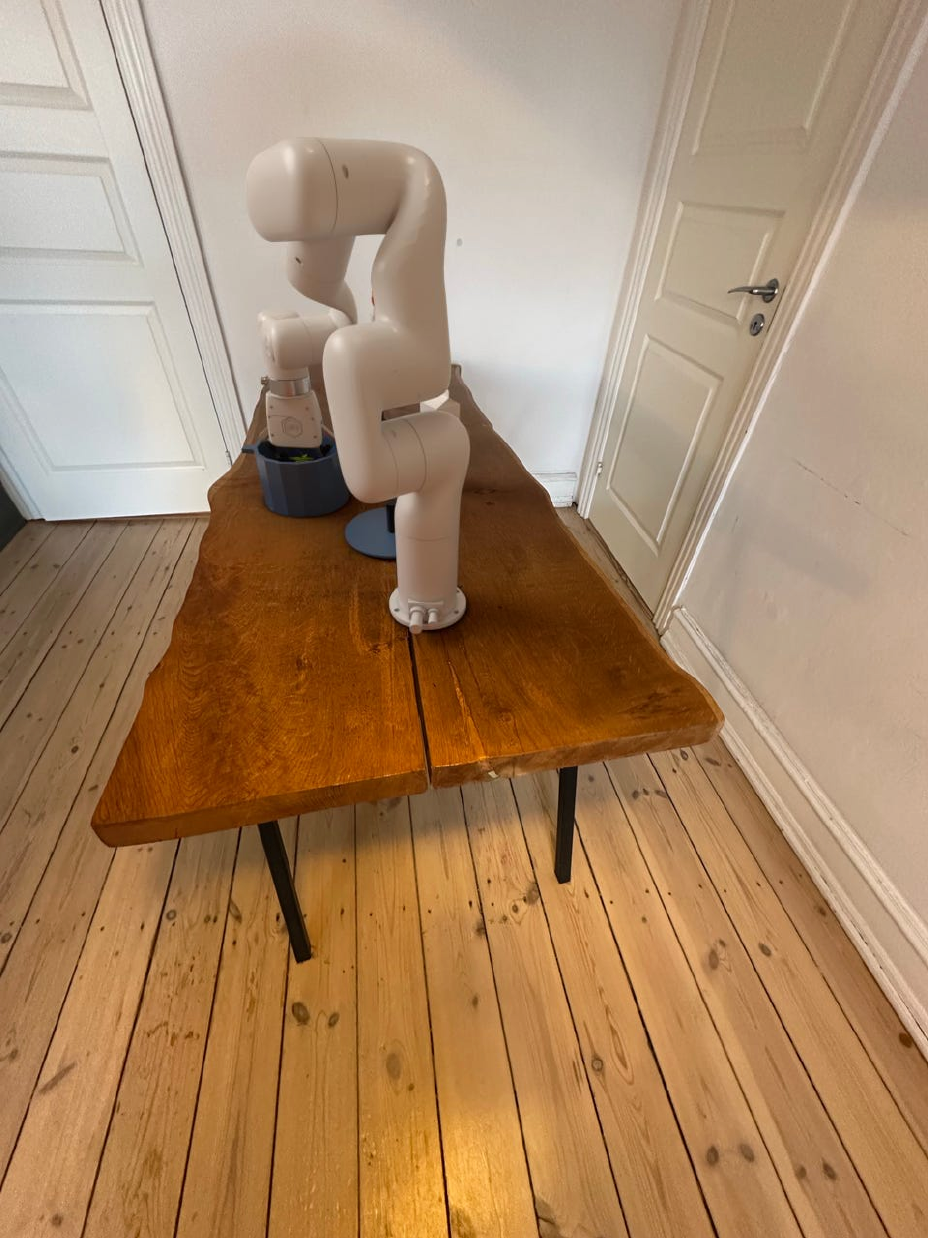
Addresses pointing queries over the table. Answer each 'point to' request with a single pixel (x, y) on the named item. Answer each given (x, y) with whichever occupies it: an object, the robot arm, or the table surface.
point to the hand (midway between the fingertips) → (304, 473)
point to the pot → (300, 481)
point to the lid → (374, 531)
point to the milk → (441, 405)
